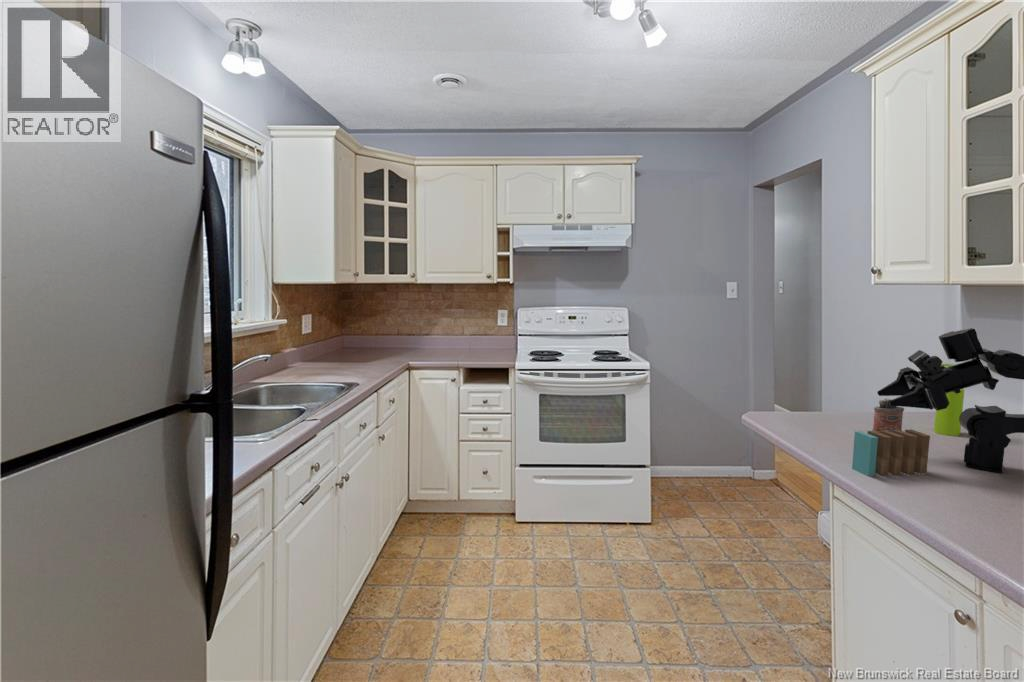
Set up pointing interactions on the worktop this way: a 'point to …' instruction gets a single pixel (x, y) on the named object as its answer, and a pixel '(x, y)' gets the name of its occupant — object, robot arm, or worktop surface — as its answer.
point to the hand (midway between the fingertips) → (883, 398)
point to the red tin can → (887, 417)
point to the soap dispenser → (950, 414)
